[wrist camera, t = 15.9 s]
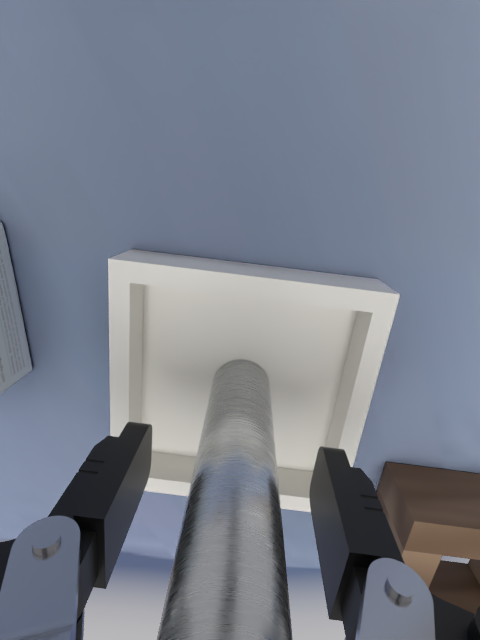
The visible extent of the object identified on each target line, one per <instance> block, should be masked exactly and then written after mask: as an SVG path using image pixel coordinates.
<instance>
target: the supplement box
mask: <svg viewBox="0 0 480 640" xmlns="http://www.w3.org/2000/svg"><path fill="white" fill-rule="evenodd" d="M31 371H32V365H31V359H30V354H29V348H28V343H27V338H26V333H25V328H24V323H23V317H22V313H21V308H20V303H19V297H18V292H17V288H16V282H15V278H14V273H13V268H12V263H11V259H10V254H9V247H8V244H7V239H6V235H5V231H4V228H3V225H2V223H1V222H0V394H1V393H3V392H4V391H5V390H7V389H8V388H9V387H11V386H12V385H13V384H15V383H16V382H17V381H19V380H20V379H21V378H23V377H24V376H25V375H27V374H28V373H30V372H31Z"/></svg>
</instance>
